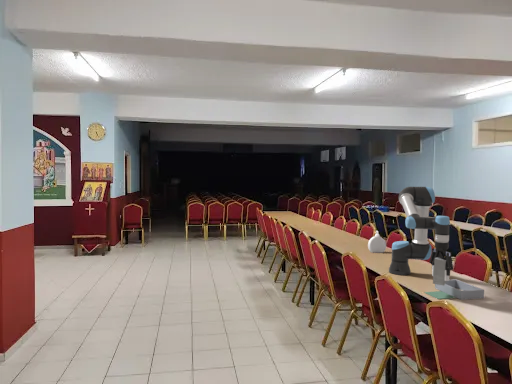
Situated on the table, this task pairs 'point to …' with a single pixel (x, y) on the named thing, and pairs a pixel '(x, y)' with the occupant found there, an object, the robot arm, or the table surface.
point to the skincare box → (439, 271)
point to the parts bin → (468, 292)
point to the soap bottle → (377, 244)
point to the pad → (440, 295)
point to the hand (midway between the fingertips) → (440, 278)
